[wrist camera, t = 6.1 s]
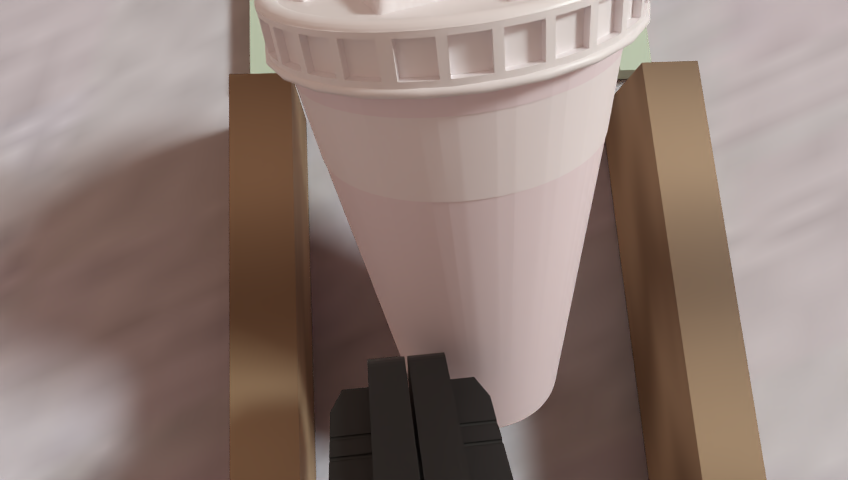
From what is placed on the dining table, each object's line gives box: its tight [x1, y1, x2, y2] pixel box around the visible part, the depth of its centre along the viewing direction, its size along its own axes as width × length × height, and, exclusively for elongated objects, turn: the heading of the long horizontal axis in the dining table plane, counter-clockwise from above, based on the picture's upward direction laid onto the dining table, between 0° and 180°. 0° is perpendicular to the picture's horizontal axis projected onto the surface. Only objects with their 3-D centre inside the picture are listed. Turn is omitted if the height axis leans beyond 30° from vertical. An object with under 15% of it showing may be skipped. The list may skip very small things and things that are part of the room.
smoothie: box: [254, 0, 650, 427], centre depth 11 cm, size 6×6×14 cm
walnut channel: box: [229, 61, 766, 480], centre depth 16 cm, size 12×12×3 cm
